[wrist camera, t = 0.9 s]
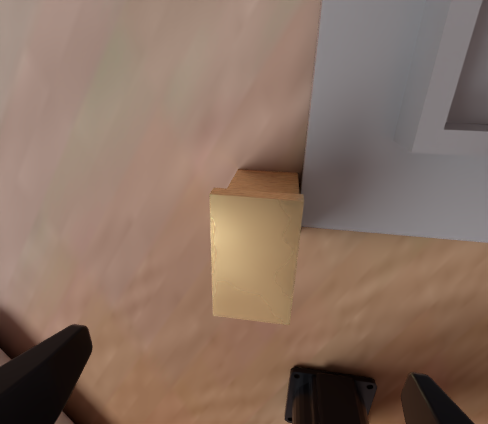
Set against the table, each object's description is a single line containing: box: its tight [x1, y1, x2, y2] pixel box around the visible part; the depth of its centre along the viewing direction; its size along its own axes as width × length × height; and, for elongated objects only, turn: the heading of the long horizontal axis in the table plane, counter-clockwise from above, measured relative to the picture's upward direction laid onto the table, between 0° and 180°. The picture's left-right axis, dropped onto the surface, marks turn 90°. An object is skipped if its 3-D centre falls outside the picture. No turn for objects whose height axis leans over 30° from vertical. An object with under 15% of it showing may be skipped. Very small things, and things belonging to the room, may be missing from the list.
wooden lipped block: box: [210, 169, 304, 325], centre depth 15 cm, size 6×4×7 cm, turn 178°
